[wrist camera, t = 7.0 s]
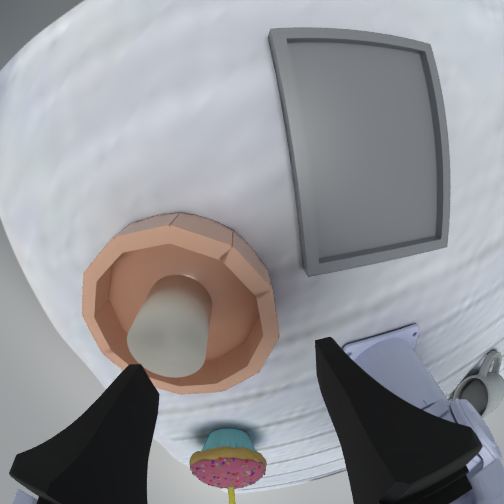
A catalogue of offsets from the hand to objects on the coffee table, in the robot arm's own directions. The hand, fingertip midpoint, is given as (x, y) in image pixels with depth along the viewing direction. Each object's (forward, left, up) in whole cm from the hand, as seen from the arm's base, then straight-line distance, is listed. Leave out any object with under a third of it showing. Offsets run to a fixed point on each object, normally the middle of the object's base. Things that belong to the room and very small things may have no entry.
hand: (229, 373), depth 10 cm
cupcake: (-22, +5, -10) cm, 24 cm away
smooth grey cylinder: (-1, +4, -9) cm, 10 cm away
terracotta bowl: (-2, +4, -9) cm, 10 cm away
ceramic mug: (-26, -33, -10) cm, 43 cm away
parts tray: (+7, -11, -9) cm, 16 cm away
